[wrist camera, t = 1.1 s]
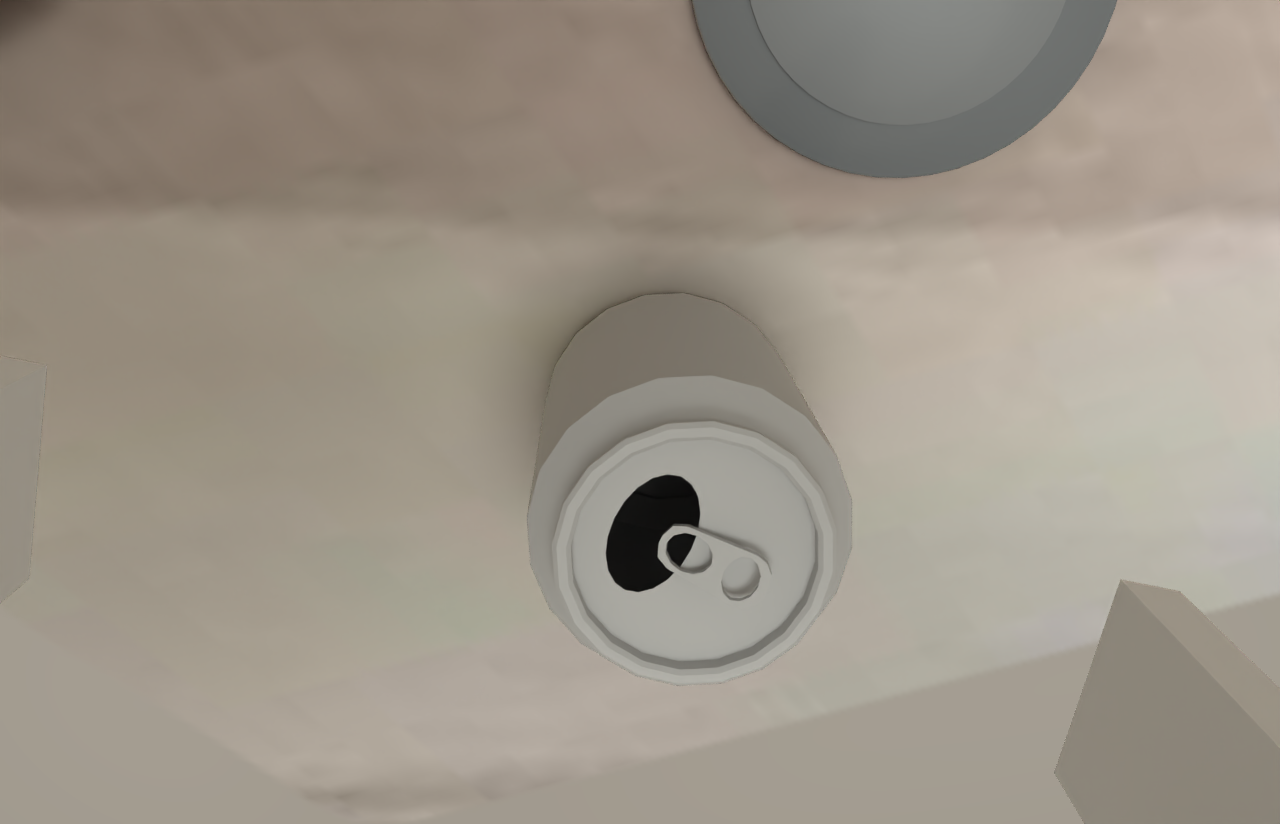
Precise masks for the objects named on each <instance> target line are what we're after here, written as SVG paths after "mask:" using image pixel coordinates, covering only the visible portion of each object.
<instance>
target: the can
mask: <svg viewBox="0 0 1280 824" xmlns="http://www.w3.org/2000/svg"><path fill="white" fill-rule="evenodd" d="M527 525H528V539H529V552H530V565H531V567H532V570H533V572H534V574H535V577H536V579H537V581H538V583H539V586H540V588H541V590H542V593H543V595H544V597H545V600H546V602H547V604H548V606H549V609H550V610H551V611H552V612H553V613H554V614H555V615H556V616H557V617H558V619H559V620H560V621H561V622H562V623H563V624H564V625H565V626H566V627H567V628H568V630H569V631H570V632H571V633H572V634H573V635H574V636H575V637H576V638H577V640H578V641H579V642H580V643H581V644H583V645H584V646H586V647H588V648H589V649H591V650H593V651H595V652H596V653H598V654H599V655H600V656H602V657H604V658H605V659H607V660H609V661H610V662H612V663H614V664H616V665H617V666H619V667H621V668H623V669H624V670H626V671H628V672H629V673H631V674H633V675H635V676H637V677H642V678H646V679H650V680H654V681H659V682H663V683H667V684H671V685H676V686H687V685H705V684H722V683H724V682H727V681H730V680H733V679H736V678H739V677H742V676H745V675H747V674H750V673H753V672H756V671H759V670H762V669H763V668H765V667H766V666H768V665H769V664H770V663H772V662H773V661H775V660H776V659H777V658H779V657H780V656H782V655H783V654H784V653H786V652H787V651H789V650H790V649H791V648H793V647H794V646H796V645H797V644H798V643H799V641H800V640H801V639H802V637H803V636H804V635H805V633H806V632H807V631H808V630H809V628H810V627H811V626H812V624H813V623H814V622H815V620H816V619H817V618H818V616H819V615H820V614H821V612H822V611H823V610H824V609H825V607H826V606H827V605H828V603H829V602H830V601H831V599H832V598H833V597H834V595H835V594H836V592H837V589H838V586H839V583H840V581H841V578H842V575H843V572H844V569H845V566H846V563H847V561H848V558H849V555H850V552H851V549H852V499H851V496H850V493H849V490H848V487H847V484H846V481H845V479H844V476H843V473H842V470H841V467H840V464H839V461H838V458H837V455H836V454H835V452H834V450H833V448H832V447H831V445H830V443H829V441H828V440H827V438H826V436H825V434H824V433H823V431H822V429H821V427H820V426H819V424H818V422H817V420H816V419H815V417H814V415H813V413H812V412H811V410H810V408H809V406H808V405H807V403H806V401H805V399H804V398H803V396H802V394H801V393H800V391H799V389H798V387H797V386H796V384H795V382H794V380H793V379H792V377H791V375H790V373H789V372H788V370H787V368H786V366H785V365H784V363H783V361H782V359H781V358H780V356H779V354H778V353H777V352H776V350H775V349H774V348H773V347H772V345H771V344H770V343H769V342H768V340H767V339H766V338H765V336H764V335H763V334H762V333H761V331H760V330H759V329H758V328H757V326H756V325H755V324H753V323H752V322H750V321H749V320H747V319H746V318H744V317H743V316H741V315H740V314H738V313H737V312H735V311H734V310H732V309H731V308H729V307H728V306H726V305H724V304H723V303H720V302H716V301H712V300H709V299H705V298H701V297H697V296H694V295H690V294H686V293H674V294H654V295H643V296H640V297H638V298H635V299H632V300H630V301H627V302H624V303H622V304H619V305H616V306H614V307H611V308H608V309H606V310H605V311H604V312H603V313H601V314H600V315H599V316H598V317H596V318H595V319H594V320H592V321H591V322H590V323H589V324H587V325H586V326H585V327H584V328H582V329H581V330H580V331H579V332H577V333H576V334H575V336H574V337H573V339H572V340H571V342H570V344H569V345H568V347H567V348H566V350H565V351H564V353H563V354H562V356H561V357H560V359H559V360H558V362H557V363H556V365H555V367H554V371H553V375H552V378H551V382H550V386H549V390H548V393H547V397H546V401H545V406H544V413H543V419H542V425H541V432H540V438H539V444H538V451H537V457H536V463H535V470H534V476H533V482H532V488H531V495H530V501H529V507H528V514H527Z"/></svg>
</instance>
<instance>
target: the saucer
mask: <svg viewBox="0 0 1280 824" xmlns="http://www.w3.org/2000/svg"><path fill="white" fill-rule="evenodd" d="M691 1H692V5H693V10H694V15H695V19H696V24H697V27H698V30H699V33H700V35H701V38H702V41H703V44H704V47H705V50H706V52H707V54H708V56H709V58H710V60H711V62H712V64H713V66H714V68H715V70H716V72H717V74H718V76H719V78H720V79H721V80H722V82H723V83H724V85H725V86H726V88H727V89H728V91H729V92H730V94H731V95H732V97H733V98H734V100H735V101H736V102H737V103H738V104H739V105H740V106H741V107H742V108H743V110H744V111H745V112H746V113H747V114H748V115H749V116H750V117H751V118H752V120H754V121H755V122H756V123H757V124H758V125H759V126H761V127H762V128H763V129H764V130H765V131H767V132H768V133H769V134H770V135H771V136H772V137H774V138H775V139H777V140H778V141H780V142H782V143H783V144H785V145H786V146H788V147H789V148H791V149H792V150H794V151H796V152H797V153H799V154H801V155H803V156H806V157H808V158H810V159H812V160H814V161H816V162H819V163H821V164H823V165H826V166H829V167H832V168H835V169H839V170H842V171H845V172H849V173H854V174H860V175H866V176H872V177H889V178H907V177H916V176H925V175H933V174H937V173H941V172H945V171H949V170H953V169H957V168H960V167H963V166H965V165H968V164H970V163H973V162H976V161H978V160H981V159H983V158H985V157H987V156H989V155H991V154H993V153H995V152H997V151H999V150H1000V149H1002V148H1004V147H1006V146H1008V145H1010V144H1011V143H1012V142H1014V141H1015V140H1017V139H1018V138H1019V137H1021V136H1022V135H1024V134H1025V133H1027V132H1028V131H1029V130H1031V129H1032V128H1033V127H1034V126H1036V125H1037V124H1038V123H1039V122H1040V121H1041V120H1042V119H1043V118H1044V117H1046V116H1047V115H1048V114H1049V113H1050V112H1051V111H1052V110H1053V109H1054V108H1055V107H1056V106H1057V105H1058V104H1059V103H1060V101H1061V100H1062V99H1063V98H1064V97H1065V96H1066V95H1067V93H1068V92H1069V91H1070V90H1071V89H1072V88H1073V86H1074V85H1075V84H1076V82H1077V81H1078V79H1079V78H1080V76H1081V75H1082V73H1083V72H1084V70H1085V69H1086V67H1087V66H1088V65H1089V63H1090V62H1091V60H1092V58H1093V56H1094V54H1095V52H1096V50H1097V48H1098V46H1099V44H1100V42H1101V41H1102V39H1103V37H1104V35H1105V32H1106V29H1107V27H1108V24H1109V22H1110V19H1111V16H1112V14H1113V11H1114V9H1115V6H1116V2H1117V0H691Z"/></svg>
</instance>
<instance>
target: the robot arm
mask: <svg viewBox="0 0 1280 824" xmlns="http://www.w3.org/2000/svg"><path fill="white" fill-rule="evenodd" d="M46 373H47V365H45V364H40V363H35V362H30V361H25V360H20V359H15V358H10V357H5V356H0V603H1V602H3V601H4V600H5V599H6V598H7V597H8V596H10V595H11V594H12V593H13V592H14V591H16V590H17V589H18V588H19V587H20V586H21V585H23V584H24V583H25V582H26V581H27V580H28V579H29V576H30V564H31V552H32V540H33V528H34V516H35V504H36V492H37V480H38V468H39V456H40V444H41V433H42V421H43V409H44V397H45V385H46ZM1054 773H1055V775H1056V777H1057V778H1058V780H1059V782H1060V783H1061V785H1062V787H1063V789H1064V790H1065V792H1066V794H1067V795H1068V797H1069V799H1070V800H1071V802H1072V804H1073V805H1074V807H1075V809H1076V811H1077V812H1078V814H1079V816H1080V817H1081V819H1082V821H1083V822H1084V824H1280V688H1279V687H1278V686H1277V685H1276V684H1275V683H1274V682H1273V681H1272V680H1271V679H1270V678H1269V677H1268V676H1267V675H1266V674H1265V673H1264V672H1263V671H1262V670H1261V669H1260V668H1259V667H1258V666H1257V665H1256V664H1255V663H1253V661H1251V660H1250V659H1249V658H1248V657H1247V656H1246V655H1245V654H1244V653H1243V652H1242V651H1241V650H1240V649H1239V648H1238V647H1237V646H1236V645H1235V644H1234V643H1233V642H1232V641H1231V640H1230V639H1229V638H1228V637H1227V636H1225V634H1224V633H1222V632H1221V631H1220V630H1219V629H1218V628H1217V627H1216V626H1215V625H1214V624H1213V623H1212V622H1211V621H1210V620H1209V619H1208V618H1207V617H1206V616H1205V615H1204V614H1203V613H1202V612H1201V611H1200V610H1199V609H1198V608H1197V607H1196V606H1195V605H1194V604H1193V603H1191V602H1190V601H1189V600H1188V599H1187V598H1186V597H1185V596H1184V595H1183V594H1182V593H1181V592H1180V591H1176V590H1171V589H1166V588H1161V587H1156V586H1151V585H1146V584H1141V583H1136V582H1131V581H1126V580H1120V583H1119V586H1118V589H1117V591H1116V594H1115V597H1114V600H1113V603H1112V606H1111V609H1110V612H1109V615H1108V618H1107V620H1106V623H1105V626H1104V629H1103V632H1102V635H1101V638H1100V641H1099V644H1098V647H1097V649H1096V653H1095V655H1094V658H1093V661H1092V664H1091V667H1090V670H1089V673H1088V676H1087V679H1086V682H1085V684H1084V687H1083V690H1082V693H1081V696H1080V699H1079V702H1078V705H1077V708H1076V710H1075V713H1074V716H1073V719H1072V722H1071V725H1070V728H1069V731H1068V734H1067V737H1066V739H1065V742H1064V746H1063V748H1062V751H1061V754H1060V757H1059V760H1058V763H1057V766H1056V768H1055V771H1054Z"/></svg>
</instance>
